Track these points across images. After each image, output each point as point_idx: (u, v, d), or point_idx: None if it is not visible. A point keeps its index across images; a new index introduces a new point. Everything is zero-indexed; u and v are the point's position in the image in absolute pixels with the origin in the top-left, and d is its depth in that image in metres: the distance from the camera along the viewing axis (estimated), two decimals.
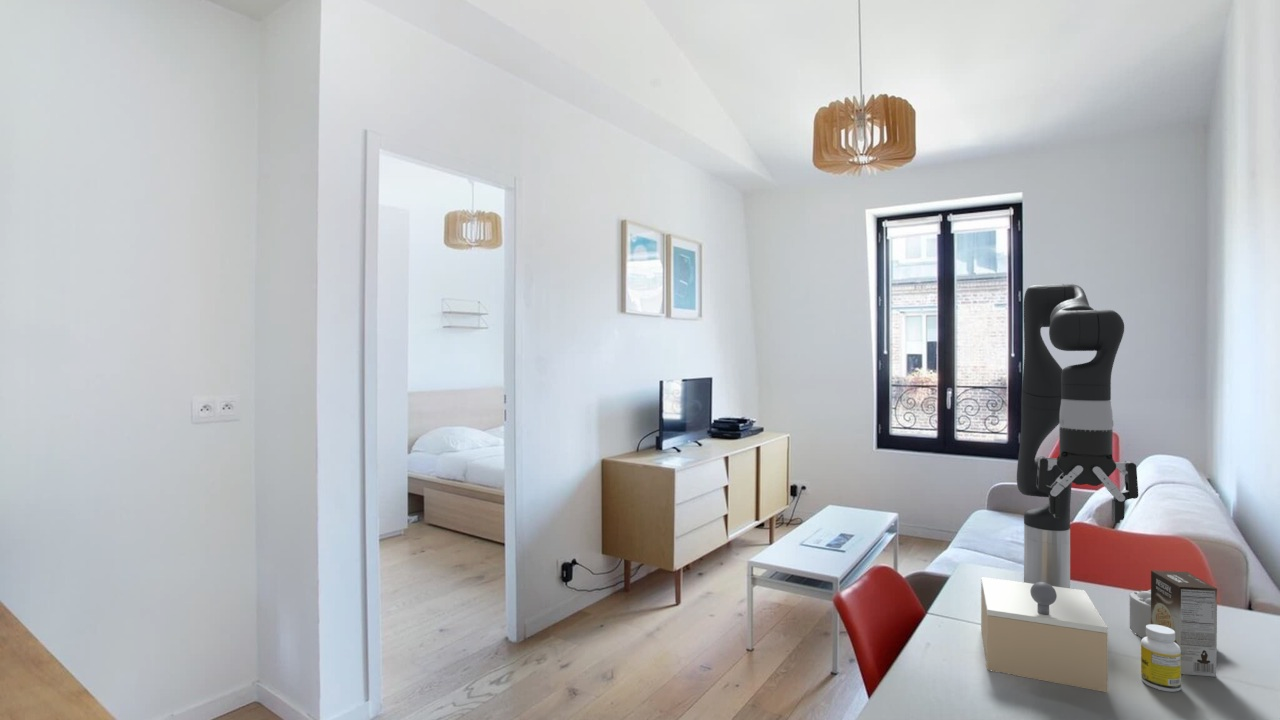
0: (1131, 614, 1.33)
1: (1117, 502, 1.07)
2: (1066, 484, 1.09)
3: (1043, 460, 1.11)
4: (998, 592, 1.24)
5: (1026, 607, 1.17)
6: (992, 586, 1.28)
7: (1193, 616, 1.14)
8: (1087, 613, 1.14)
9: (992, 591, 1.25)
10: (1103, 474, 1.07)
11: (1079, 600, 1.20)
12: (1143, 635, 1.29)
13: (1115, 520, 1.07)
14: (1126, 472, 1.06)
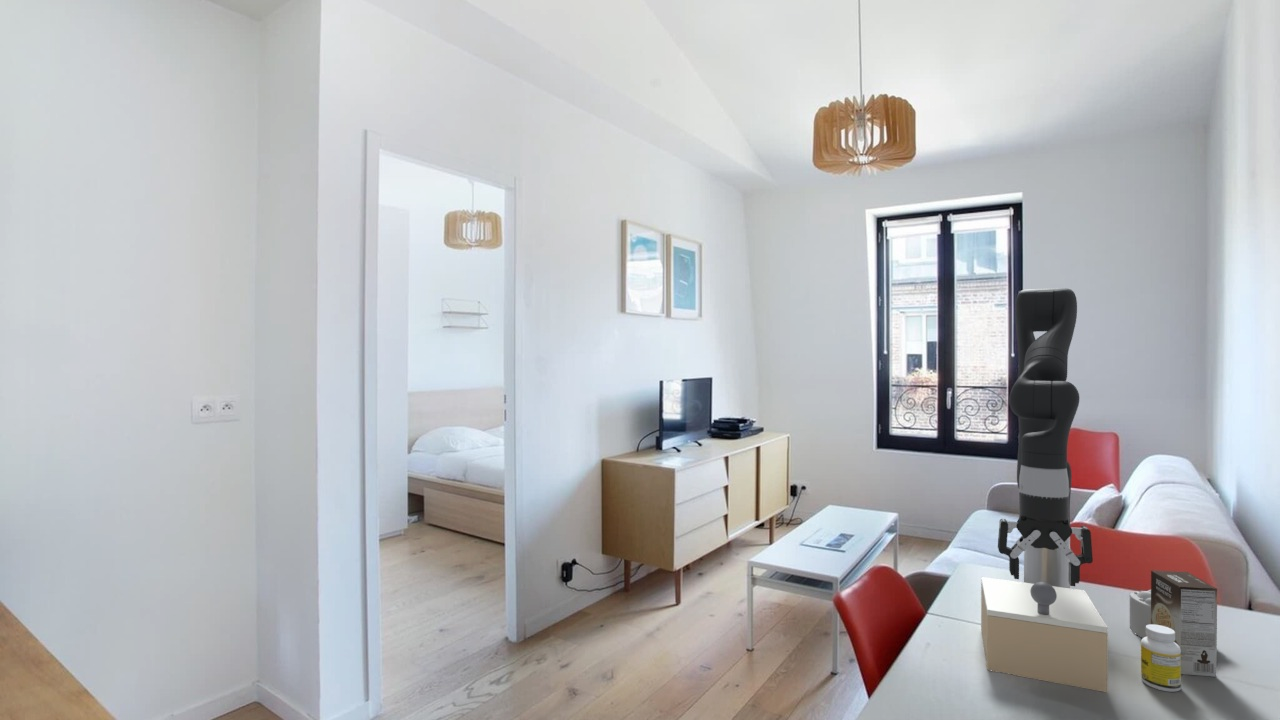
0: (1131, 614, 1.33)
1: (1073, 566, 1.12)
2: (1025, 547, 1.14)
3: (1003, 523, 1.16)
4: (998, 592, 1.24)
5: (1026, 607, 1.17)
6: (992, 586, 1.28)
7: (1193, 616, 1.14)
8: (1087, 613, 1.14)
9: (992, 591, 1.25)
10: (1059, 539, 1.12)
11: (1079, 600, 1.20)
12: (1143, 635, 1.29)
13: (1071, 583, 1.12)
14: (1081, 538, 1.11)
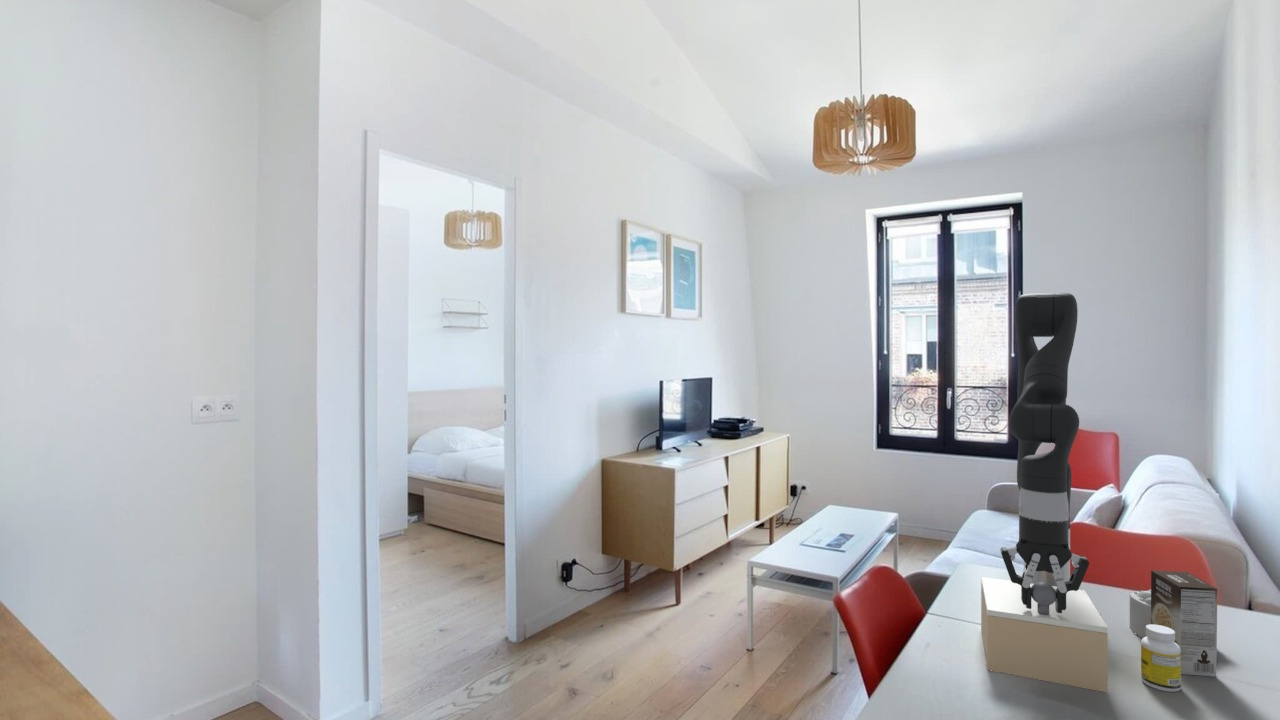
0: (1131, 614, 1.33)
1: (1059, 593, 1.12)
2: (1032, 574, 1.14)
3: (1004, 553, 1.16)
4: (998, 592, 1.24)
5: None
6: (992, 586, 1.28)
7: (1193, 616, 1.14)
8: (1087, 613, 1.14)
9: (992, 591, 1.25)
10: (1057, 564, 1.12)
11: (1079, 600, 1.20)
12: (1143, 635, 1.29)
13: (1057, 610, 1.13)
14: (1077, 566, 1.11)
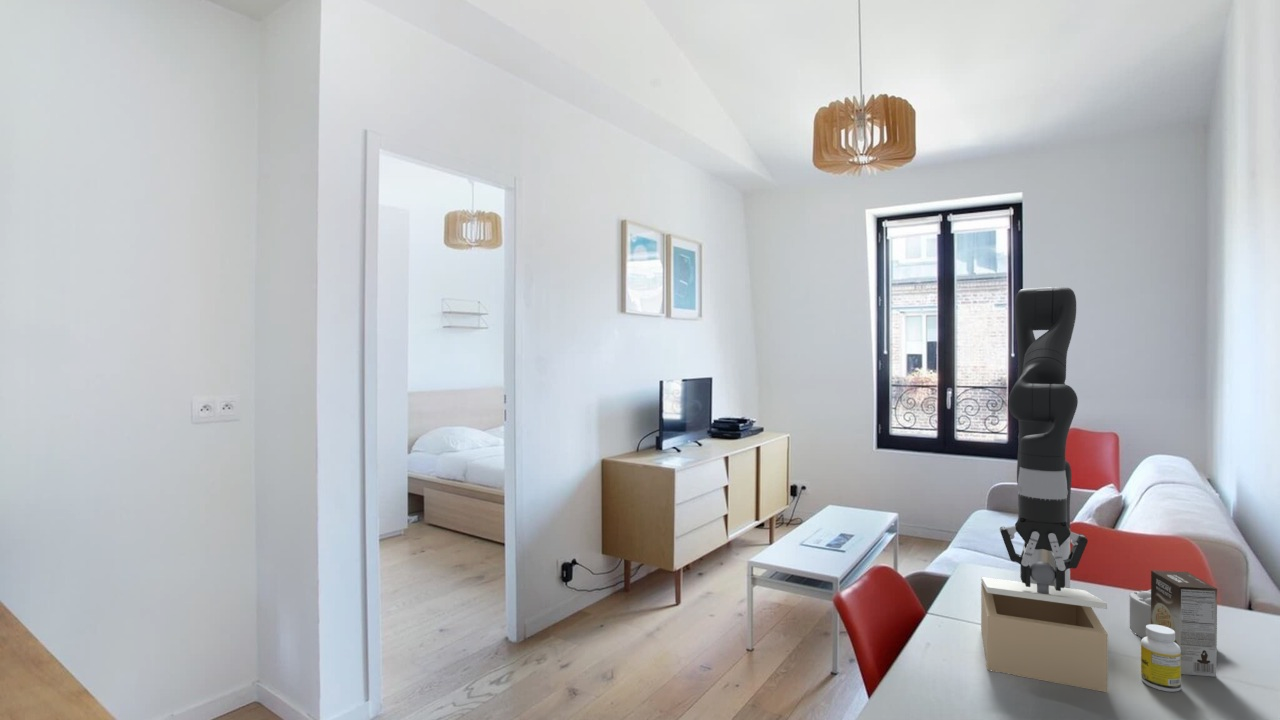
0: (1131, 614, 1.33)
1: (1058, 571, 1.14)
2: (1031, 552, 1.15)
3: (1003, 531, 1.17)
4: (998, 583, 1.24)
5: (1026, 590, 1.17)
6: (992, 580, 1.28)
7: (1193, 616, 1.14)
8: (1087, 597, 1.15)
9: (992, 582, 1.25)
10: (1056, 542, 1.13)
11: (1079, 592, 1.20)
12: (1143, 635, 1.29)
13: (1056, 588, 1.14)
14: (1076, 543, 1.12)
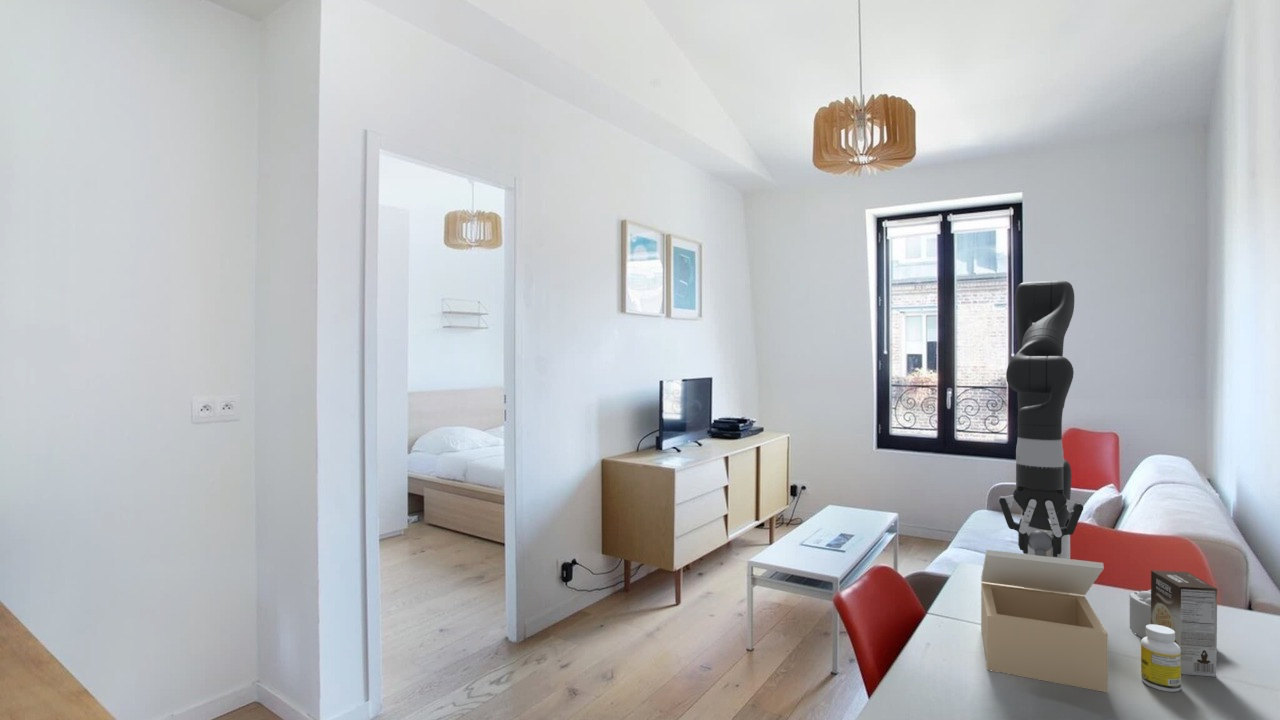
0: (1131, 614, 1.33)
1: (1055, 538, 1.17)
2: (1029, 519, 1.18)
3: (1001, 500, 1.20)
4: None
5: None
6: None
7: (1193, 616, 1.14)
8: None
9: None
10: (1052, 509, 1.16)
11: None
12: (1143, 635, 1.29)
13: (1053, 554, 1.17)
14: (1072, 510, 1.16)
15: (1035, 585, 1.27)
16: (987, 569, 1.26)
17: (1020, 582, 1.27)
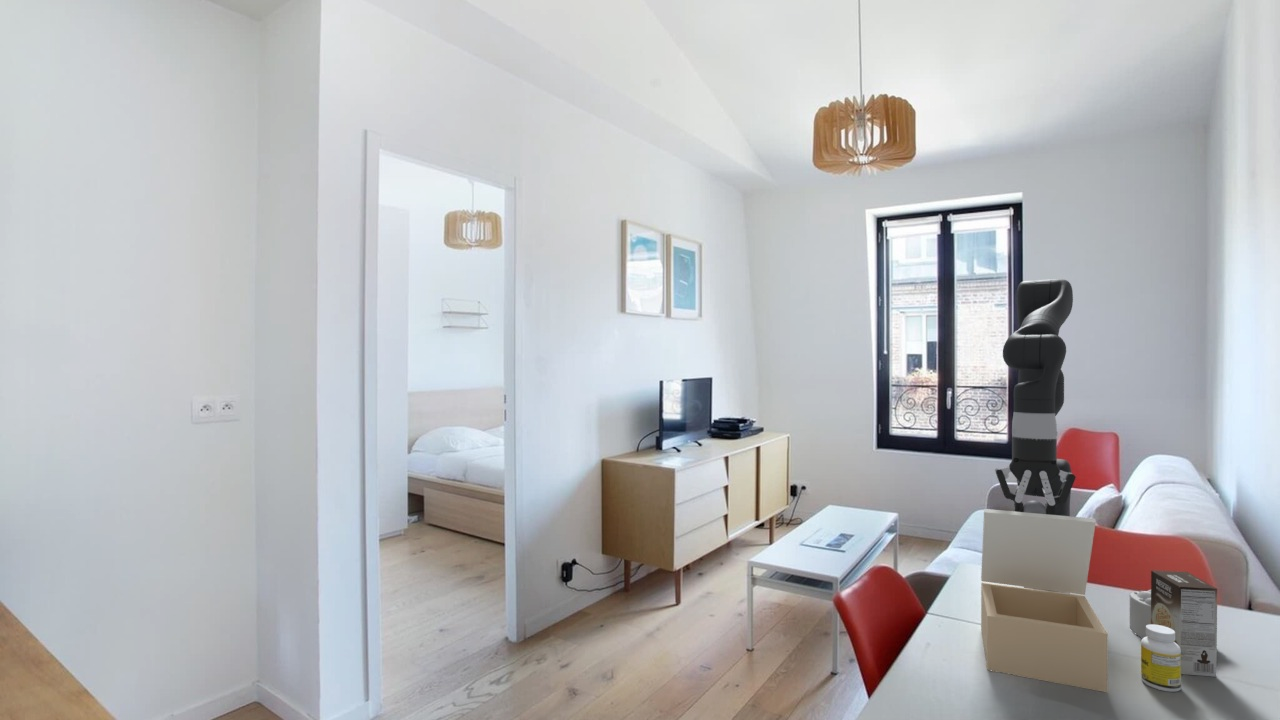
0: (1131, 614, 1.33)
1: (1048, 506, 1.24)
2: (1024, 489, 1.25)
3: (998, 471, 1.27)
4: None
5: None
6: None
7: (1193, 616, 1.14)
8: None
9: None
10: (1046, 479, 1.23)
11: None
12: (1143, 635, 1.29)
13: None
14: (1065, 480, 1.22)
15: (1035, 579, 1.28)
16: (986, 549, 1.28)
17: (1019, 573, 1.28)
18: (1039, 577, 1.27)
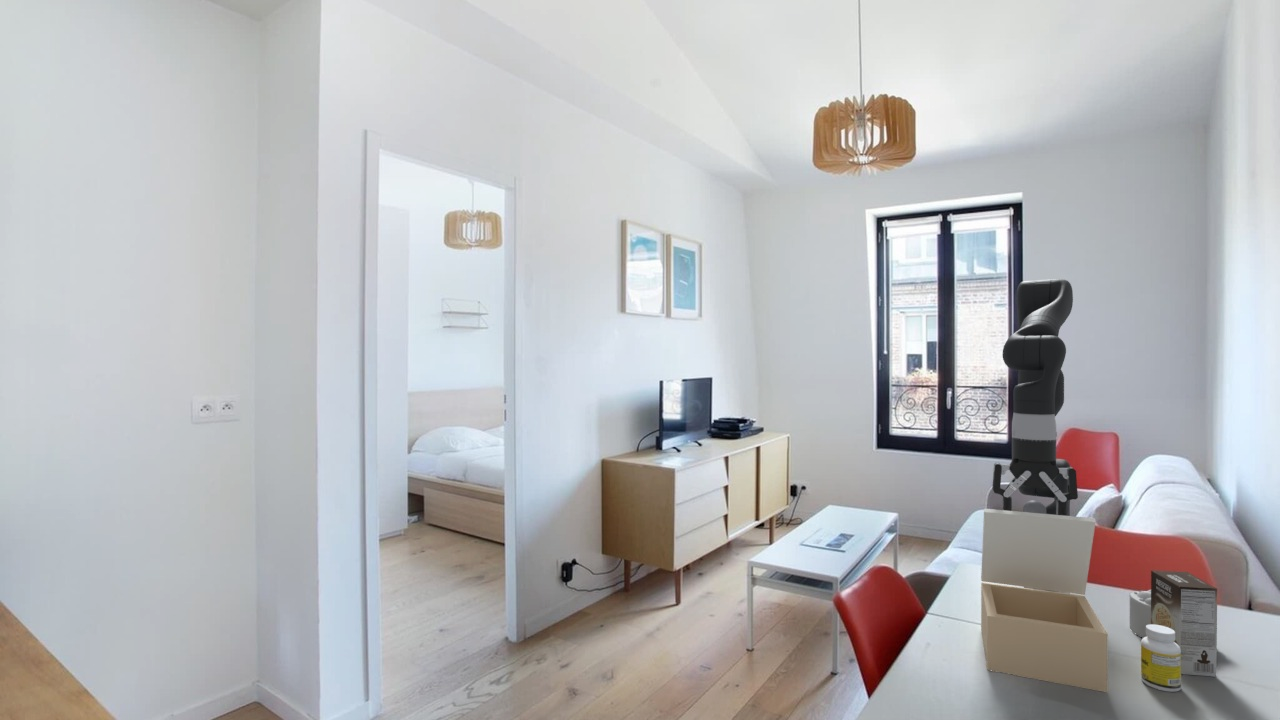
0: (1131, 614, 1.33)
1: (1060, 502, 1.23)
2: (1017, 487, 1.26)
3: (997, 466, 1.28)
4: None
5: None
6: None
7: (1193, 616, 1.14)
8: None
9: None
10: (1048, 478, 1.24)
11: None
12: (1143, 635, 1.29)
13: None
14: (1067, 476, 1.23)
15: (1035, 579, 1.28)
16: (986, 548, 1.28)
17: (1019, 573, 1.28)
18: (1039, 577, 1.27)
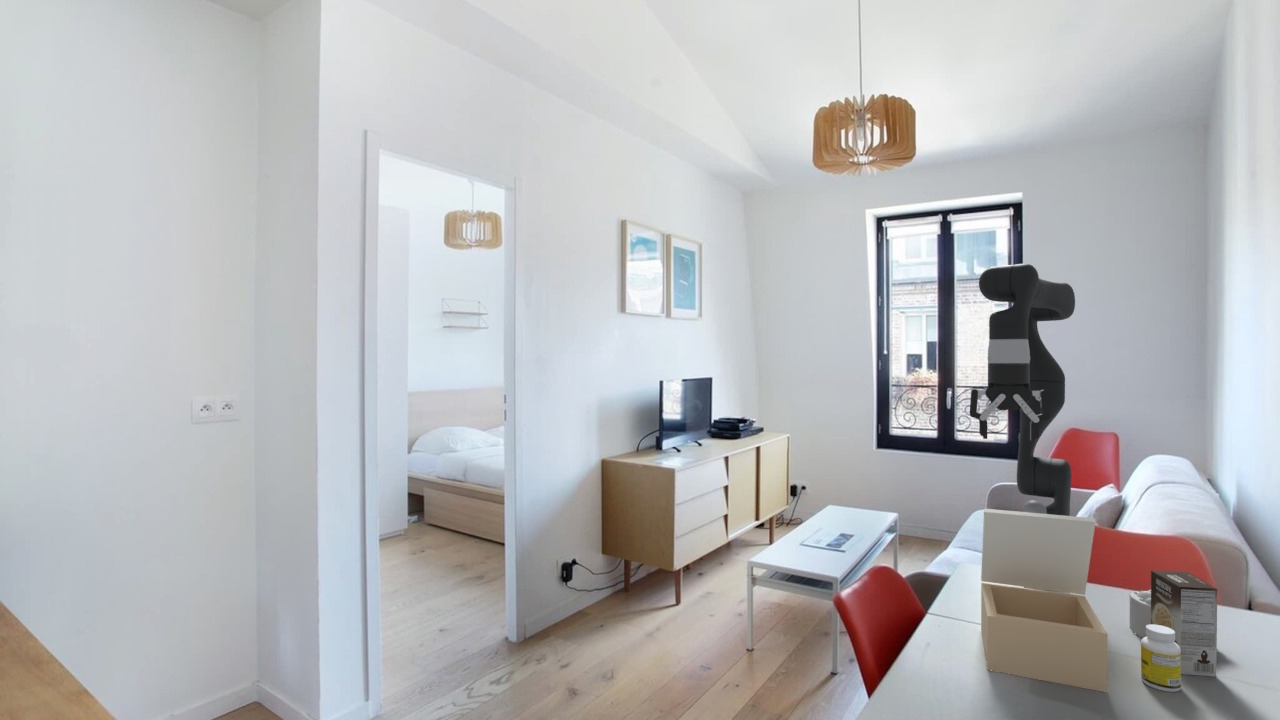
0: (1131, 614, 1.33)
1: (1033, 423, 1.29)
2: (992, 410, 1.31)
3: (974, 391, 1.33)
4: None
5: None
6: None
7: (1193, 616, 1.14)
8: None
9: None
10: (1021, 400, 1.29)
11: None
12: (1143, 635, 1.29)
13: (1031, 438, 1.29)
14: (1040, 398, 1.28)
15: (1035, 579, 1.28)
16: (986, 548, 1.28)
17: (1019, 573, 1.28)
18: (1039, 577, 1.27)
